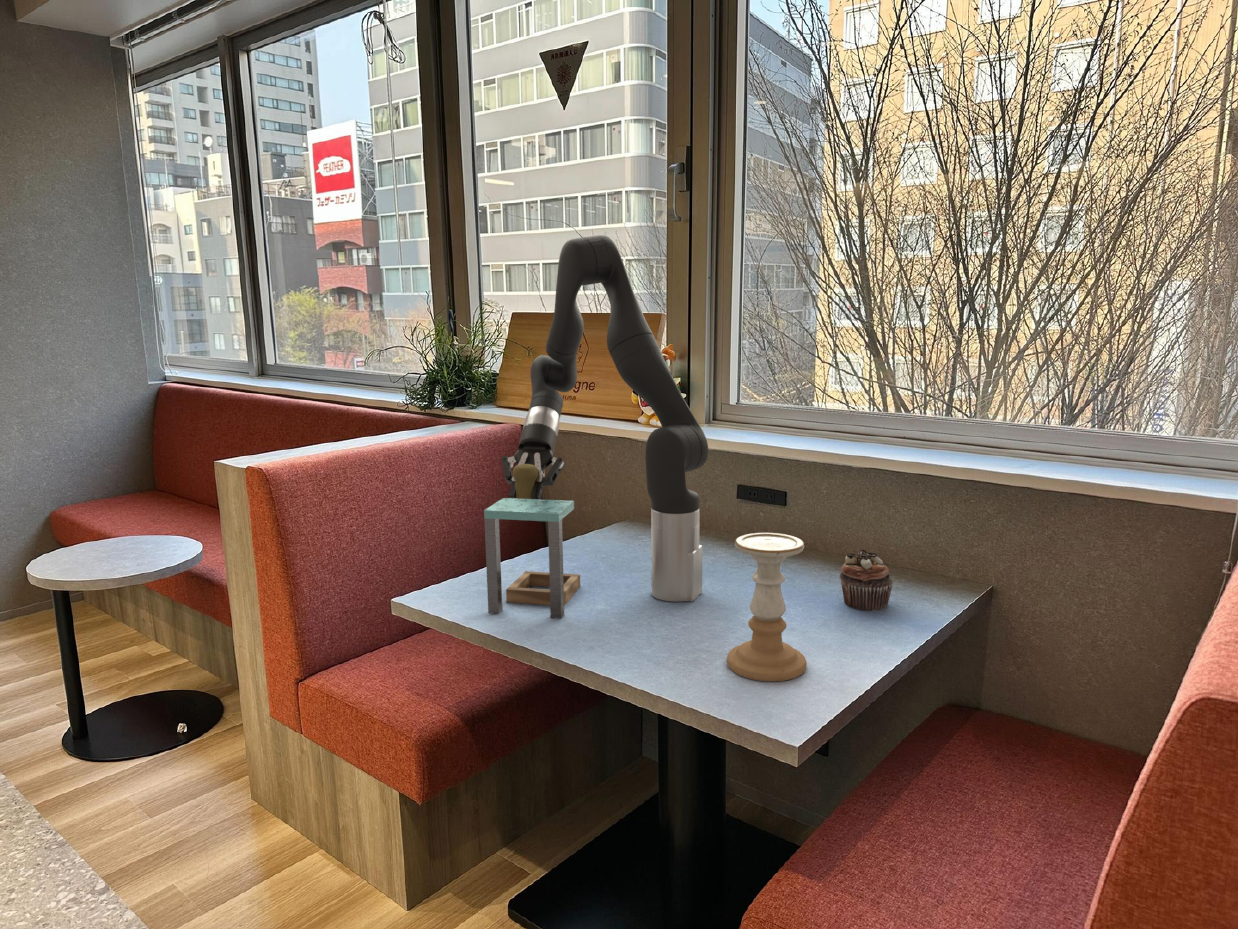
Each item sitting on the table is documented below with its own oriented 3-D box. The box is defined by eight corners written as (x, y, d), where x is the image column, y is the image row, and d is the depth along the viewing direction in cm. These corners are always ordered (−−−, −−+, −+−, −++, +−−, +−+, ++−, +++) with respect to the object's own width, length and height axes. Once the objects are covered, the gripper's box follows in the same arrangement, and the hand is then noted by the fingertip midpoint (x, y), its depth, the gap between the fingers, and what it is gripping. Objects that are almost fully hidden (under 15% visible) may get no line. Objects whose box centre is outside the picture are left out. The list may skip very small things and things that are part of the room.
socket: (526, 582, 174) (525, 571, 173) (580, 586, 171) (580, 574, 171) (506, 602, 163) (506, 589, 162) (564, 606, 160) (564, 593, 160)
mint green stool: (507, 595, 166) (503, 497, 163) (576, 599, 163) (573, 500, 160) (488, 613, 157) (484, 510, 153) (561, 618, 154) (558, 513, 150)
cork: (535, 521, 172) (535, 468, 170) (507, 519, 174) (506, 466, 171) (544, 513, 178) (543, 462, 176) (516, 512, 179) (515, 461, 177)
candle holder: (713, 671, 131) (715, 545, 127) (745, 644, 141) (747, 526, 138) (789, 689, 125) (793, 557, 121) (817, 659, 135) (821, 537, 131)
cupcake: (878, 617, 153) (880, 563, 151) (829, 604, 159) (831, 553, 158) (901, 603, 160) (904, 551, 158) (853, 591, 166) (856, 542, 165)
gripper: (503, 421, 181) (485, 489, 172) (568, 422, 178) (553, 491, 169) (513, 442, 187) (496, 508, 178) (575, 443, 184) (561, 511, 175)
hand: (524, 500), depth 173 cm, fingers closed on cork, 3 cm apart
